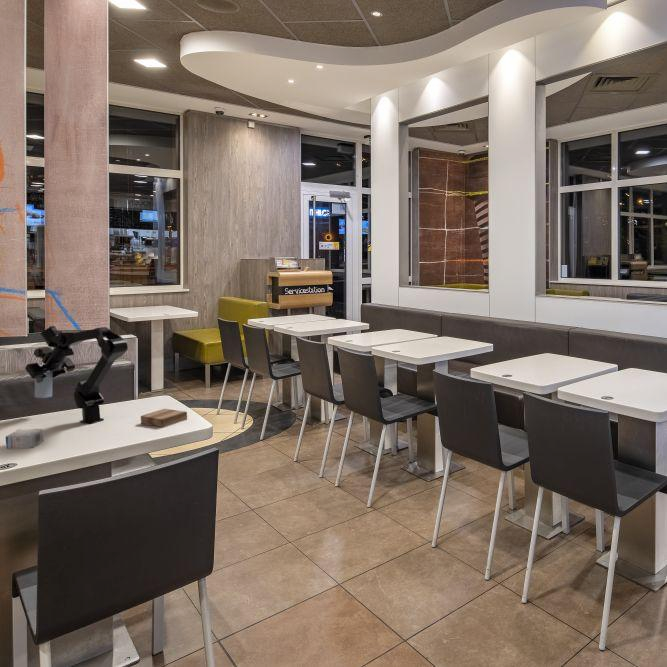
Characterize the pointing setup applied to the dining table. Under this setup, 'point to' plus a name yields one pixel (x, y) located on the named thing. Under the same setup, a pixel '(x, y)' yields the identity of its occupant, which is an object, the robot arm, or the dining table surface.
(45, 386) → the pillar block
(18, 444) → the medicine box
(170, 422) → the walnut plinth
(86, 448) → the dining table surface
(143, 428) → the dining table surface
